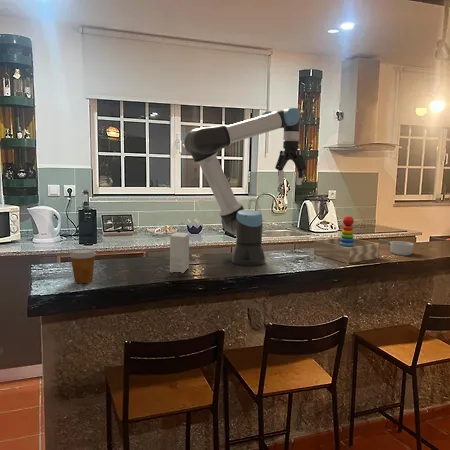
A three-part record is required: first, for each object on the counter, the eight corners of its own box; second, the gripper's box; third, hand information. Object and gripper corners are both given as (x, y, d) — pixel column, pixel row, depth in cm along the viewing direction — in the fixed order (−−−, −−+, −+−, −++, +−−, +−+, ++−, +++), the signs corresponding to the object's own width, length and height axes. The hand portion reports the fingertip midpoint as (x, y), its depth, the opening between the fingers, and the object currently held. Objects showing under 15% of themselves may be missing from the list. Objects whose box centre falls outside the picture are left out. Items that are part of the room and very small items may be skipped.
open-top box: (347, 263, 200) (348, 248, 199) (313, 254, 219) (314, 240, 218) (379, 257, 212) (380, 243, 211) (344, 249, 231) (345, 236, 230)
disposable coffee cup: (100, 278, 169) (99, 248, 167) (91, 285, 160) (90, 253, 158) (76, 278, 170) (75, 247, 168) (66, 284, 160) (64, 252, 158)
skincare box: (175, 267, 188) (175, 232, 185) (190, 268, 187) (190, 232, 184) (169, 272, 180) (169, 235, 177) (184, 273, 178) (184, 236, 176)
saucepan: (386, 247, 238) (386, 237, 238) (418, 254, 221) (419, 244, 220) (371, 249, 233) (372, 239, 232) (403, 257, 216) (404, 246, 215)
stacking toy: (356, 255, 211) (358, 217, 209) (340, 255, 211) (342, 217, 209) (352, 252, 219) (354, 215, 216) (336, 251, 219) (338, 214, 216)
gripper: (314, 140, 206) (312, 185, 209) (280, 141, 226) (279, 182, 230) (302, 139, 202) (301, 185, 205) (269, 141, 222) (268, 182, 225)
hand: (289, 184), depth 217 cm, fingers open, 13 cm apart
